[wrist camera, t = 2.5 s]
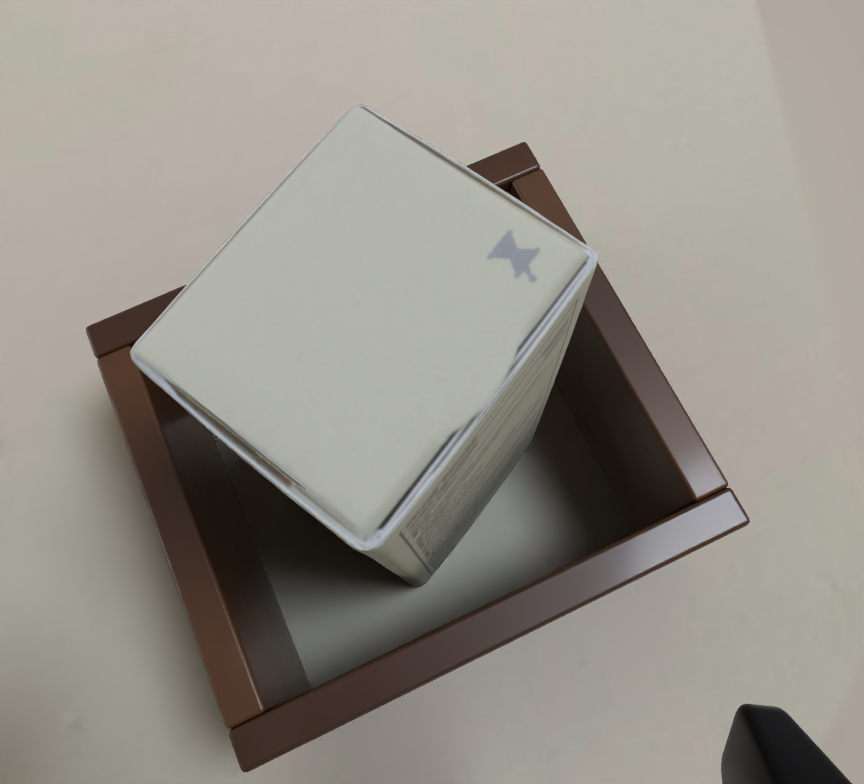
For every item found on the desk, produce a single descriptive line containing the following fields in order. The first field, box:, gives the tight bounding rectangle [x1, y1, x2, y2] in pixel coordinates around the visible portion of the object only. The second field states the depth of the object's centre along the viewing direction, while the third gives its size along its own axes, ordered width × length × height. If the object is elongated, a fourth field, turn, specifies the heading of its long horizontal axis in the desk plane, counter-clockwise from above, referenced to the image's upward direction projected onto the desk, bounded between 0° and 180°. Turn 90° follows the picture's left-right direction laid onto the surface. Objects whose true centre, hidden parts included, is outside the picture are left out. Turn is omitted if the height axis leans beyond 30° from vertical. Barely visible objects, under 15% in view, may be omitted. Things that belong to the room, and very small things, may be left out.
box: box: [130, 104, 598, 587], centre depth 15 cm, size 5×4×11 cm
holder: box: [86, 142, 750, 772], centre depth 18 cm, size 10×11×5 cm
